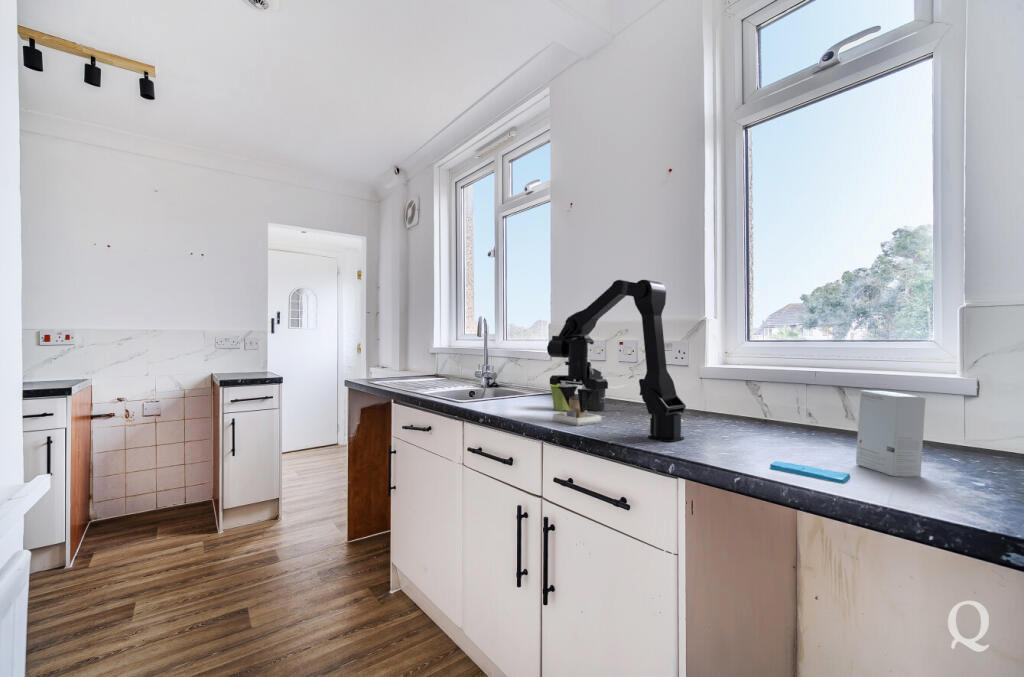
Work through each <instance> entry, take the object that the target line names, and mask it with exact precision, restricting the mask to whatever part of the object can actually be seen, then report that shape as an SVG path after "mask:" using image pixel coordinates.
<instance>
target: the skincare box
mask: <svg viewBox="0 0 1024 677" xmlns="http://www.w3.org/2000/svg"><path fill="white" fill-rule="evenodd" d="M859 398H860V399H859V408H858V409H859V411H858V426H857V440H856V442H857V443H856V455H855V464H856V465H857V466H860V467H863V468H866V469H869V470H873V471H877V472H880V473H883V474H884V475H888V476H891V477H913V478H914V477H921V476H922V473H921V472H922V459H923V443H924V431H925V430H924V428H925V427H924V426H925V425H924V424H925V413H926V397H923V396H920V395H912V394H907V393H901V392H895V391H885V390H865V389H864V390H863V389H861V390H860V396H859Z"/></svg>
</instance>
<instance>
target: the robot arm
mask: <svg viewBox="0 0 1024 677" xmlns="http://www.w3.org/2000/svg"><path fill="white" fill-rule="evenodd" d="M626 296H627V297H628V296H629V297H633V301H634V305H635V307H636V309H637V311H638V312H639V314H640V316H641V322H642V323H641V324H642V332H643V333H642V334H643V346H644V354H645V365H646V372H645V373H646V374H645V376H644V378H639V380H638V383H639V388H640V389H639V396H641V397H642V401H643V403H644V404H645V405H646V406H645V407H646V409H647V413H648V414H649V415H651V417H650V419H649V420H650V421H649V423H650V424H649V434H648V435H647V438H648V439H649V438H650V439H653V440H659V441H663V442H669V443H670V442H676V441H680V440H685V436H683V435H682V414H684V412H685V410H686V407H687V406H686V404H685V402H684V401H683V400H682V399H681V398H680V397H679V396H678V394H677V390H676V387H675V383H674V380H673V379H672V376H671V375H670V373H669V371H668V368H667V360H666V357H667V356H666V350H665V348H666V346H665V340H664V329H663V320H662V319H663V318H662V315H663V314H662V313H663V311H664V309H665V306H666V303H667V302H666V300H667V299H666V298H667V289H666V286H665V285H664V284H663V283H662V282H659V281H655V280H649V279H641V280H638V281H637V282H633V281H632V282H631V281H628V280H623V279H617V280H615V281H613V282H612V285H610V286H609V287H608V288H607V289H606V290H605V291H604V292H602V294H600V295H599V296H598V297H596V299H595V300H594V301H593V302H591V303H590V304H589V305H588V306H587V307H586V308H584V309H582V310H579V311H576V312H574V313H573V314H572V315H570V316H568V317H567V318H566V320H564V321H565V322H564V325H563V327H562V329H561V330H560V332H559V334H558V335H552V336H551V340H550V341H549V342H548V344H547V346H546V350H547V354H548V355H549V357H551V358H560V359H562V358H564V359H565V358H566V359H567V361H565V362H564V364H565V366H567V367H568V368H567V375H566V374H558V375H557V374H554V375H551V376H550V377H549V385H557V384H560V386H558V388H559V389H560V390H561V392H562V394H563V396H564V398H565V400H566V402H567V404H568V406H569V397H576V396H575V394H576V393H575V392H576V390H577V397H579V404H580V409H581V412H585V410H586V406H587V404H588V401H589V398H590V396H591V394H592V393H593V392H594V391H597V390H598V389H605V390H607V389H609V382H608V380H607V379H606V378H603V379H601V378H600V377H601V376H602V371H600V370H598V369H596V368H595V367H594V368H593V367H592V363H591V361H589V359H588V358H589V357H588V356H589V355H588V354H589V352H588V350H589V349H588V348H589V344H594V343H595V341H594V340H593V339H592V338H591V337H590V335H589V334H591V332H592V331H593V329H595V327H596V325H597V322H598V321H599V319H601V318H602V317H603V316H604V315H606V313H608V312H609V311H610V310H611V309H612V308H614V307H616V305H617V304H618V303H619V302H620V301H622V300H623V299H624V298H626ZM573 385H576V386H573ZM578 386H581V388H578Z"/></svg>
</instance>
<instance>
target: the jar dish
mask: <svg viewBox="0 0 1024 677" xmlns="http://www.w3.org/2000/svg"><path fill="white" fill-rule="evenodd" d="M576 413H577V412H575V411H566V412H560V413H553V415H552V421H553V422H556V421H557V423H560V422H562V423H561V424H565V423H567V424H566V425H570V424H571V425H570V426H575V425H576V426H575V427H581V426H580V425H582V426H587V425H586V424H589V425H594V424H593V423H595V424H600V423H599V422H601V423H602V415H597V414H592V413H588V410H586V409H585V417H583V418H576Z"/></svg>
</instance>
